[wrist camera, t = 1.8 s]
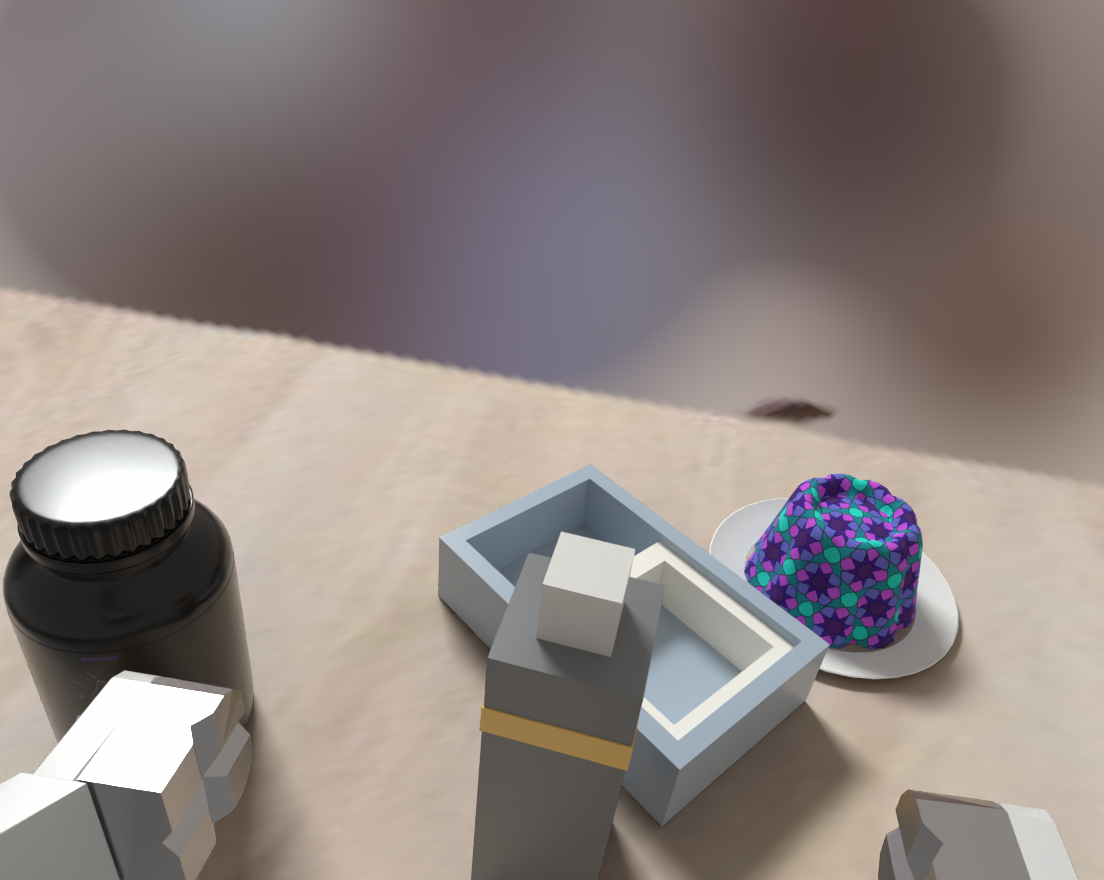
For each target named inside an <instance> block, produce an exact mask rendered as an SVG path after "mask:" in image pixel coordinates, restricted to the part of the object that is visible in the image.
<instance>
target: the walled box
mask: <svg viewBox="0 0 1104 880" xmlns="http://www.w3.org/2000/svg"><path fill="white" fill-rule="evenodd" d="M561 532H565V533H570V534H574V535H578V536H582V537H586V538H591V539H595V540H599V541H603V542H608V543H612V544H616V545H620V546H624V547H629V548H633V549H635V553H634V558H633V563H632V568H631V573H630V577H633V578H637V579H641V580H645V581H649V582H653V583H658V584H662V585H665V589H664V594H663V599H662V605H661V610H660V615H659V620H658V625H657V631H656V636H655V641H654V646H653V651H652V657H651V662H650V667H649V672H648V678H647V683H646V688H645V693H644V698H643V702H642V706H641V710H640V715H639V720H638V725H637V731H636V736H635V741H634V746H633V751H632V755H631V759H630V763H629V767H628V771H626V770H625V774H624V778H623V782H622V786H623V787H624V788H625V789H626V790H627V791H628V792H629V793H630V794H631V795H632V796H633V797H634V798H635V799H636V801H637V802H638V803H639V804H640V805H641V806H642V807H643V808H644V809H645V810H646V811H647V812H648V813H649V814H650V815H651V816H652V817H653V818H654V819H655V820H656V821H657V822H658V823H659V824H660V825H661V826H663V825H664V824H665V823H666V822H668V821H669V820H670V819H671V818H672V817H673V816H674V815H676V814H677V813H678V812H679V811H680V810H681V809H682V808H684V807H685V806H686V805H687V804H688V803H689V802H690V801H692V800H693V799H694V798H695V797H696V796H697V795H698V794H700V793H701V792H702V791H703V790H704V789H705V788H706V787H708V786H709V785H710V784H711V783H712V782H713V781H714V780H715V779H717V778H718V777H719V776H720V775H721V774H722V773H723V772H725V771H726V770H727V769H728V768H729V767H730V766H731V765H733V764H734V763H735V762H736V761H737V760H738V759H739V758H741V757H742V756H743V755H744V754H745V753H746V752H747V751H749V750H750V749H751V748H752V747H753V746H754V745H755V744H757V743H758V742H759V741H760V740H761V739H762V738H763V737H765V736H766V735H767V734H768V733H769V732H770V731H771V730H773V729H774V728H775V727H776V726H777V725H778V724H779V723H781V722H782V721H783V720H784V719H785V718H786V717H787V716H789V715H790V714H791V713H792V712H793V711H794V710H795V709H797V708H798V707H799V706H800V705H801V704H802V703H803V702H805V701H806V698H807V696H808V694H809V691H810V689H811V687H812V685H813V682H814V680H815V678H816V675H817V673H818V671H819V668H820V666H821V664H822V661H823V659H824V657H825V655H826V652H827V650H828V648H829V645H830V644H828V643H827V642H826V641H824V640H823V639H822V638H820V637H819V636H818V635H817V634H815V633H814V632H813V631H811V630H810V629H809V628H807V627H806V626H805V625H803V624H802V623H801V622H799V621H798V620H797V619H795V618H794V617H793V616H791V615H790V614H789V613H787V612H786V611H785V610H783V609H782V608H781V607H779V606H778V605H777V604H775V603H774V602H773V601H771V600H770V599H769V598H767V597H766V596H765V595H763V594H762V593H761V592H759V591H758V590H757V589H755V588H754V587H753V586H751V585H750V584H749V583H747V582H746V581H745V580H744V579H742V578H741V577H740V576H738V575H737V574H736V573H734V572H733V571H732V570H730V569H729V568H728V567H726V566H725V565H724V564H722V563H721V562H720V561H718V560H717V559H716V558H714V557H713V556H712V555H710V554H709V553H708V552H706V551H705V550H704V549H702V548H701V547H700V546H698V545H697V544H696V543H694V542H693V541H692V540H690V539H689V538H688V537H686V536H685V535H684V534H682V533H681V532H680V531H678V530H677V529H676V528H674V527H673V526H672V525H671V524H669V523H668V522H667V521H665V520H664V519H663V518H661V517H660V516H659V515H657V514H656V513H655V512H653V511H652V510H651V509H649V508H648V507H647V506H645V505H644V504H643V503H641V502H640V501H639V500H637V499H636V498H635V497H633V496H632V495H631V494H629V493H628V492H627V491H625V490H624V489H623V488H621V487H620V486H619V485H617V484H616V483H615V482H613V481H612V480H611V479H609V478H608V477H607V476H605V475H604V474H603V473H601V472H600V471H599V470H598V469H596V468H595V467H594V466H592V465H591V464H590V465H588V466H586V467H584V468H582V469H580V470H578V471H576V472H573V473H571V474H569V475H567V476H565V477H563V478H561V479H559V480H557V481H555V482H553V483H551V484H549V485H547V486H545V487H542V488H540V489H538V490H536V491H534V492H532V493H530V494H528V495H526V496H524V497H522V498H520V499H518V500H516V501H514V502H512V503H509V504H507V505H505V506H503V507H501V508H499V509H497V510H495V511H493V512H491V513H489V514H487V515H485V516H483V517H481V518H479V519H476V520H474V521H472V522H470V523H468V524H466V525H464V526H462V527H460V528H458V529H456V530H454V531H452V532H450V533H448V534H445V535H443V536H441V537H439V584H438V596H439V597H440V598H441V599H442V600H443V601H444V602H445V603H446V604H447V605H448V606H449V607H450V608H451V609H452V610H453V611H454V612H455V613H456V614H457V615H458V616H459V617H460V618H461V619H462V620H463V621H464V622H465V623H466V625H467V626H468V627H469V628H470V629H471V630H472V631H473V632H474V633H475V634H476V635H477V636H478V637H479V638H480V639H481V640H482V641H483V642H484V643H485V644H486V645H487V646H488V647H489V648H490V649H491V647H492V645H493V642H494V640H495V637H496V635H497V632H498V630H499V627H500V624H501V622H502V619H503V617H504V614H505V612H506V609H507V607H508V604H509V601H510V599H511V596H512V594H513V591H514V589H515V586H516V584H517V581H518V578H519V576H520V573H521V571H522V568H523V566H524V563H525V561H526V558H527V555H528V553H533V554H538V555H542V556H546V557H550V558H552V556H553V553H554V550H555V547H556V545H557V542H558V539H559V536H560V533H561Z"/></svg>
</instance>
